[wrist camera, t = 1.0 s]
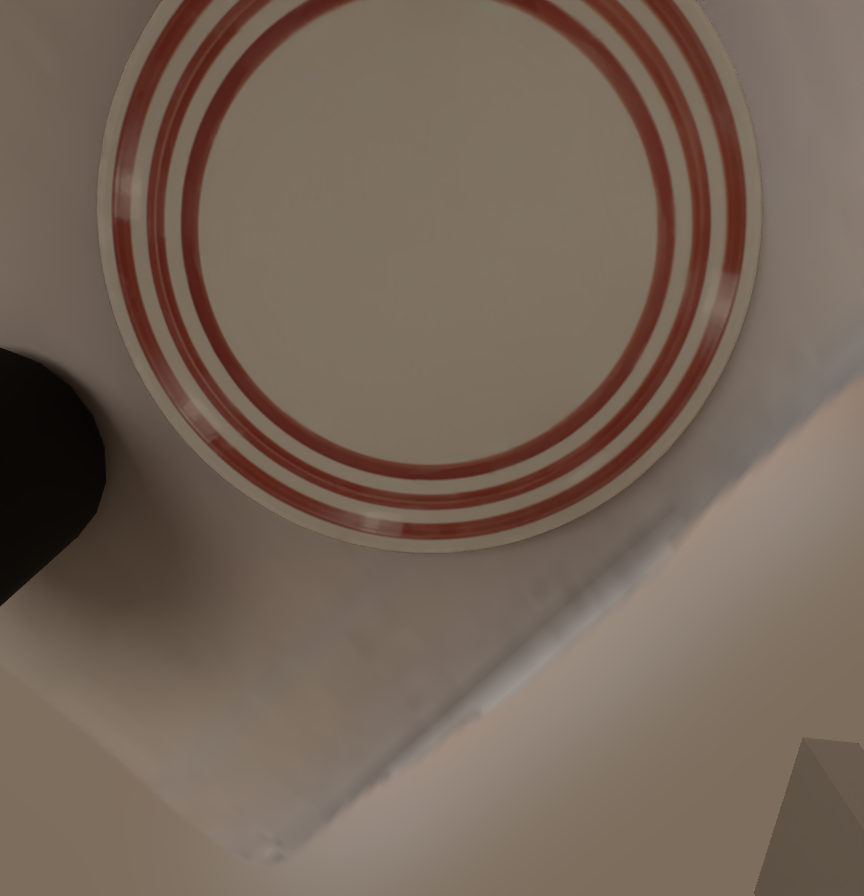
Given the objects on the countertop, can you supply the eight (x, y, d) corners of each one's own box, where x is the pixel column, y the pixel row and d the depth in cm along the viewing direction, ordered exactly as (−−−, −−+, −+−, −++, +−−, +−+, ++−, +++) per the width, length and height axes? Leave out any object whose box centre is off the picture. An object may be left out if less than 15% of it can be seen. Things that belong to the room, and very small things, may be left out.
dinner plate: (35, 366, 37) (-4, 381, 34) (278, -260, 29) (257, -317, 26) (533, 614, 40) (541, 650, 37) (863, 112, 33) (908, 102, 30)
